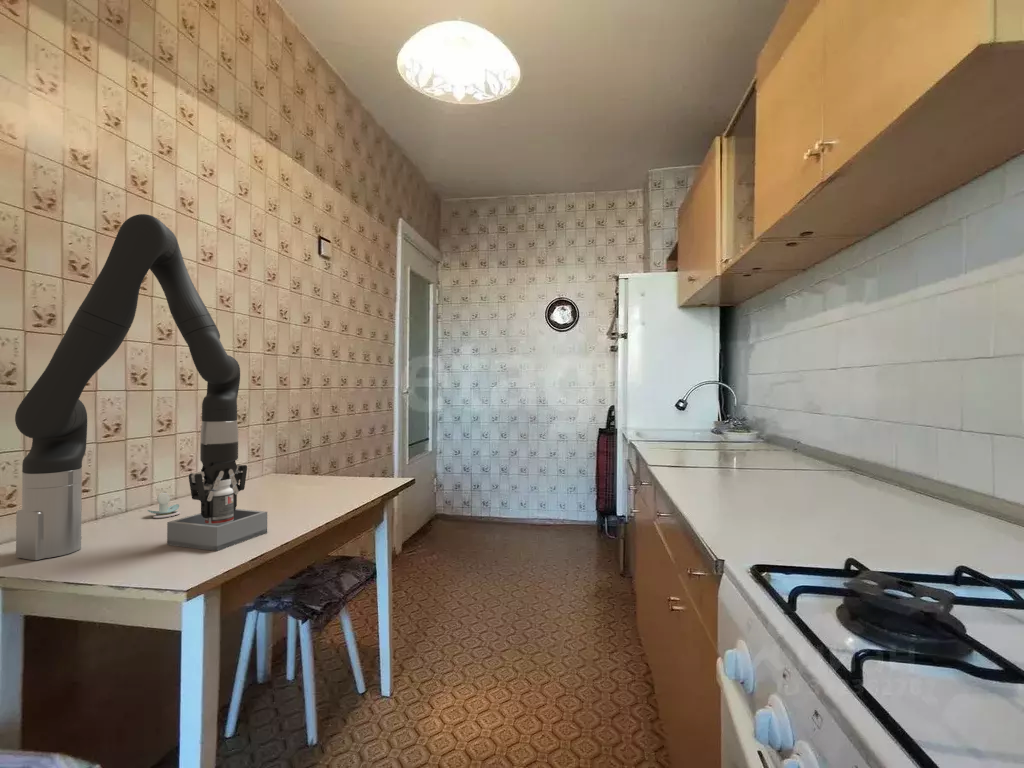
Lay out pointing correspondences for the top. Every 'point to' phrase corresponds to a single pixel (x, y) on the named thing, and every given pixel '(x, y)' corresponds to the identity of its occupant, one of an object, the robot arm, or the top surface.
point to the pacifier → (165, 507)
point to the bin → (216, 530)
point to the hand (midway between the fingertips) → (219, 513)
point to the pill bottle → (222, 504)
